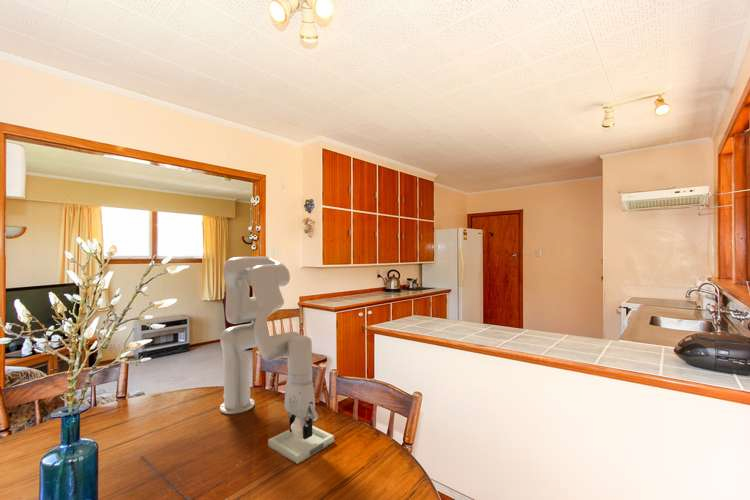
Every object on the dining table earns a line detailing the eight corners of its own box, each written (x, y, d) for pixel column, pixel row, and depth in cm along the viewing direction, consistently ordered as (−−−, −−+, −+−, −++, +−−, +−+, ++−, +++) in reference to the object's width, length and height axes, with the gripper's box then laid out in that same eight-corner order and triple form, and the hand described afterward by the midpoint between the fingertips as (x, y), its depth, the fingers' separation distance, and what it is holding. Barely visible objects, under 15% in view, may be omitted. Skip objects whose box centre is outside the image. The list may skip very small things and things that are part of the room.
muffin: (294, 444, 107) (293, 421, 107) (288, 435, 113) (288, 413, 112) (313, 438, 110) (313, 416, 110) (307, 430, 116) (306, 408, 116)
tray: (268, 446, 110) (268, 439, 110) (305, 428, 121) (304, 421, 121) (297, 464, 101) (297, 456, 101) (334, 442, 112) (334, 436, 112)
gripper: (273, 374, 114) (274, 429, 114) (308, 387, 103) (309, 448, 103) (293, 367, 120) (293, 420, 120) (327, 379, 109) (328, 438, 109)
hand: (300, 433), depth 111 cm, fingers closed on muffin, 6 cm apart
